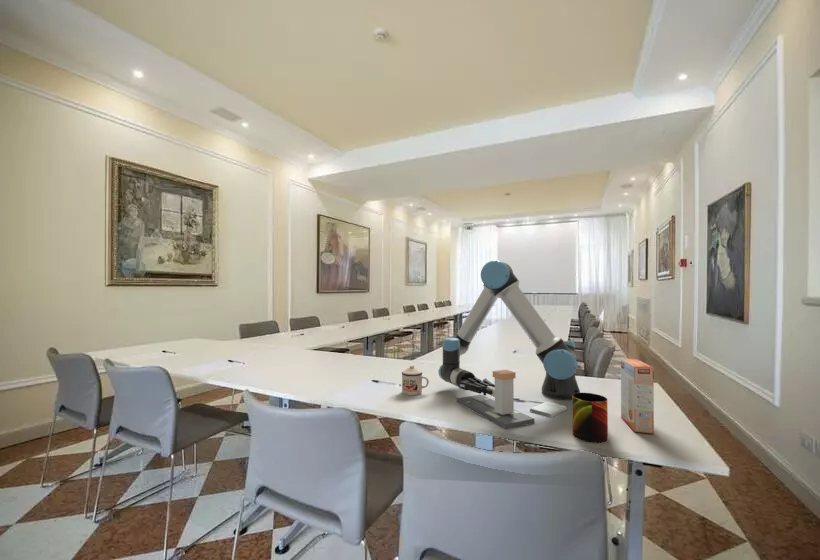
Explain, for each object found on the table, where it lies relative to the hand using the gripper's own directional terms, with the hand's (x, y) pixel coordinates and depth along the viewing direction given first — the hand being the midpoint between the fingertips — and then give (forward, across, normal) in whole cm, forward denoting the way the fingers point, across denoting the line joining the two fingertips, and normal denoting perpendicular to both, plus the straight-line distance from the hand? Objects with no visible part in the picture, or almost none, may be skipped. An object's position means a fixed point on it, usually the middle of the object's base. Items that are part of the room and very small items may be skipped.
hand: (499, 394), depth 128 cm
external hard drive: (+3, -20, -8) cm, 22 cm away
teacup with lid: (-38, +16, -8) cm, 41 cm away
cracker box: (+26, -35, -8) cm, 45 cm away
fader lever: (+2, 0, -6) cm, 6 cm away
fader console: (-4, 0, -8) cm, 9 cm away
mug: (+24, -15, -8) cm, 30 cm away
